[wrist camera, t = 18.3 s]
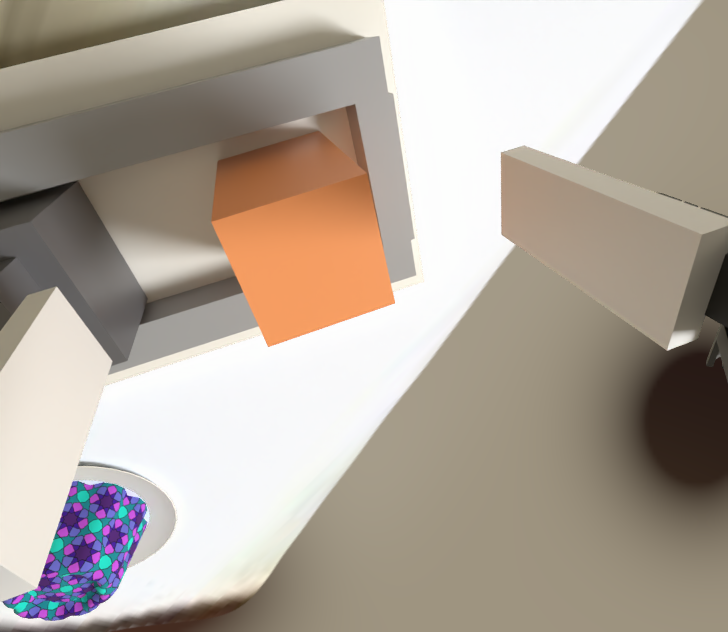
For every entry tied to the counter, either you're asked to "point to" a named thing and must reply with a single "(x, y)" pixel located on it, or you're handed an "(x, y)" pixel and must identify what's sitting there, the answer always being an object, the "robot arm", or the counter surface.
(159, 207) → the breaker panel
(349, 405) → the counter surface
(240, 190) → the block
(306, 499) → the counter surface
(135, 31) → the counter surface
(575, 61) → the counter surface
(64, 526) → the pudding
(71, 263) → the handle
